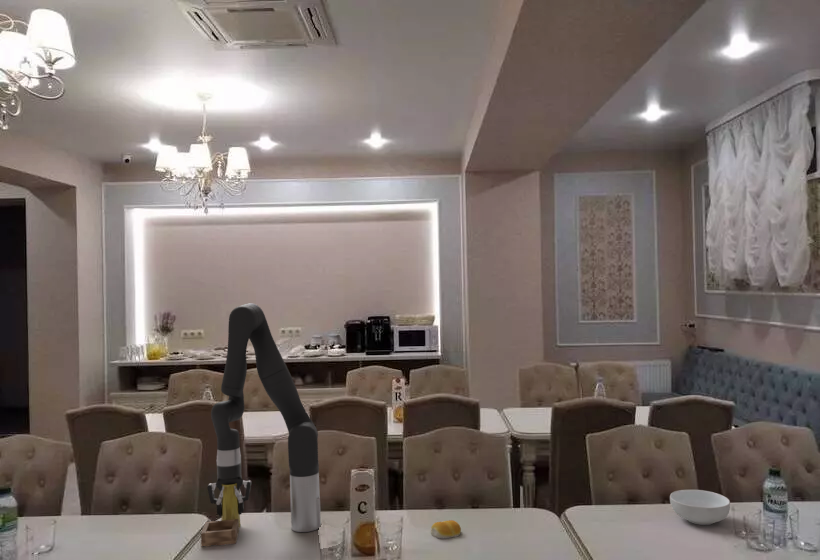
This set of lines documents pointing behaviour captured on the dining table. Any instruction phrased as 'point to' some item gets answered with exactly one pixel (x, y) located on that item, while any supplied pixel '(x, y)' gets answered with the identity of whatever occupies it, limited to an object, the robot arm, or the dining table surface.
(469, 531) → the dining table surface
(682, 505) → the cereal bowl
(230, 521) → the socket block
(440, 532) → the bread roll
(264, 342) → the robot arm
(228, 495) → the vase
